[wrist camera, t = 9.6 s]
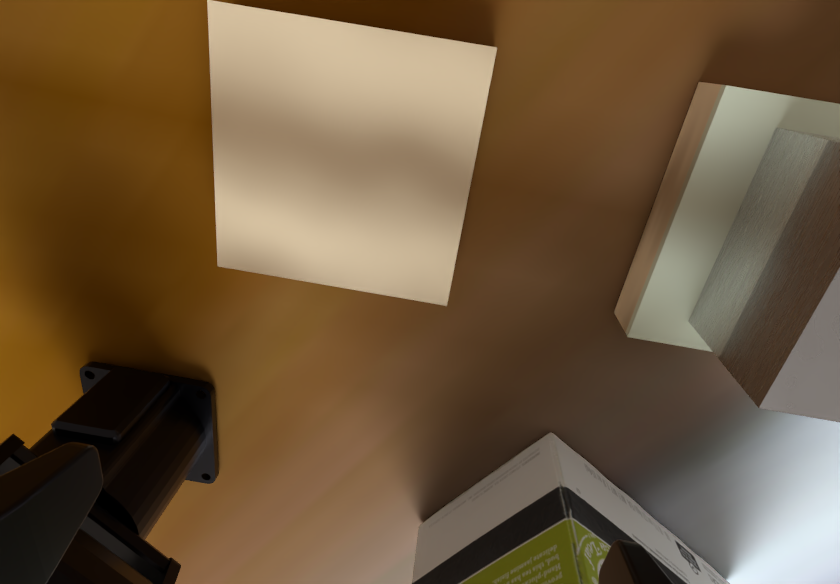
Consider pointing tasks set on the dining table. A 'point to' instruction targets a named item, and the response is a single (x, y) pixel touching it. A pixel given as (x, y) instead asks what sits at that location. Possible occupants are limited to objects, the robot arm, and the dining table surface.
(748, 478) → the dining table surface
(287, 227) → the stand
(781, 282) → the block
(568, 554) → the tea box
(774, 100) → the stand
